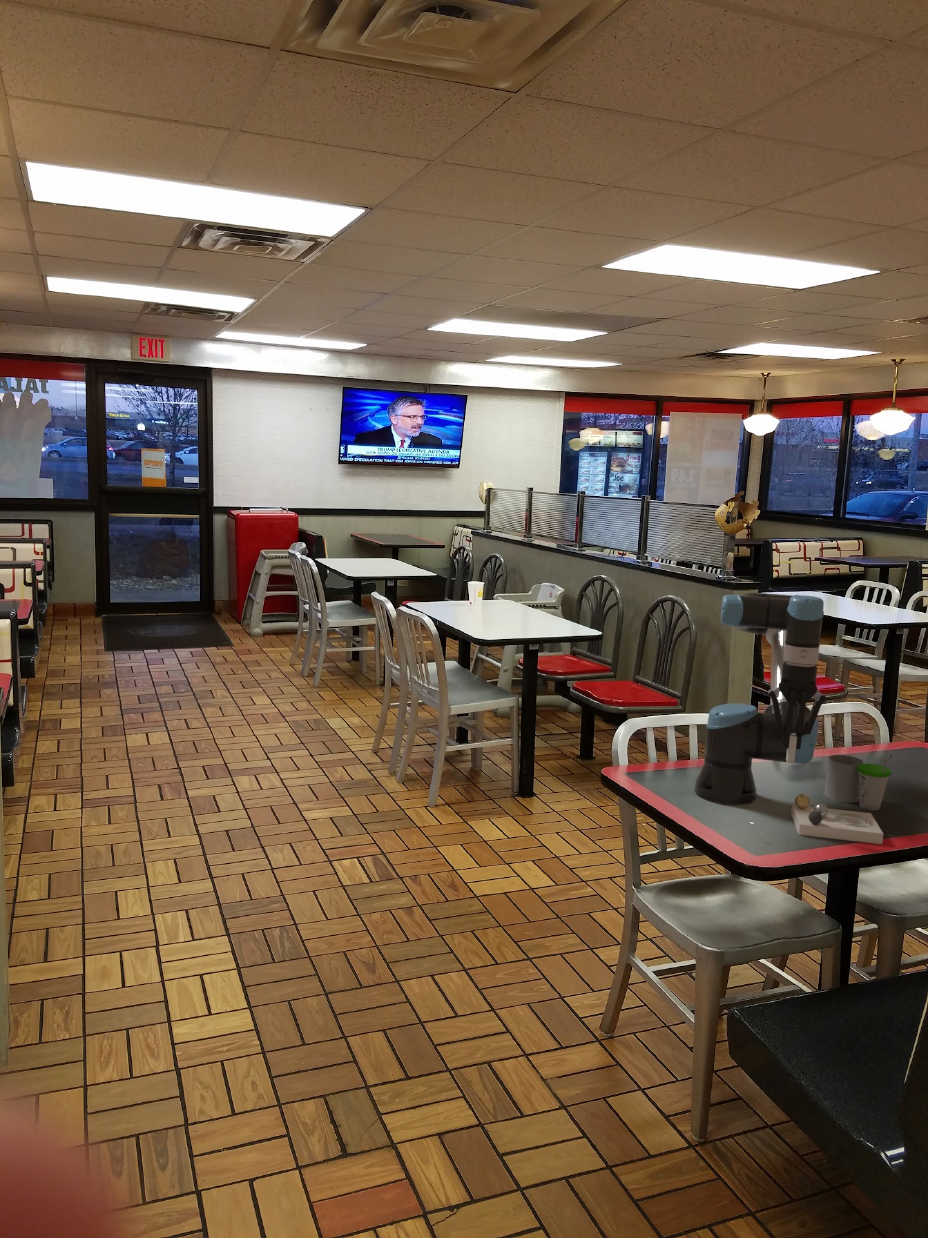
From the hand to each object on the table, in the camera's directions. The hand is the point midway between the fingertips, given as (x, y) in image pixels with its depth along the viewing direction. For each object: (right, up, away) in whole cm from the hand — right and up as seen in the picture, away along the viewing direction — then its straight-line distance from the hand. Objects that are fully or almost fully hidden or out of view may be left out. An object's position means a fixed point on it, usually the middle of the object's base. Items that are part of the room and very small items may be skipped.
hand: (790, 761), depth 218 cm
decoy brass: (+5, -10, +6) cm, 13 cm away
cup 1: (+21, -13, +23) cm, 34 cm away
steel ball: (+7, -11, 0) cm, 14 cm away
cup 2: (+25, -14, +15) cm, 33 cm away
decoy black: (+4, -12, -4) cm, 14 cm away
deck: (+11, -16, 0) cm, 19 cm away
